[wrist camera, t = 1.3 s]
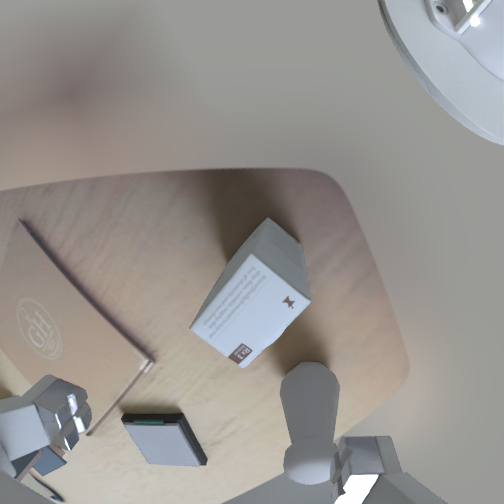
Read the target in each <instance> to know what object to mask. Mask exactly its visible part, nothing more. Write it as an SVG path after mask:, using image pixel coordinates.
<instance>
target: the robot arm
mask: <svg viewBox="0 0 504 504" xmlns="http://www.w3.org/2000/svg"><path fill="white" fill-rule="evenodd" d="M424 3H425V6H426V9H427V13H428V16H429V19H430V21H431V23H432V24H433V25H434V26H435V27H436V28H437V29H438V30H440V31H441V32H443V33H445V34H446V35H448V36H450V37H451V38H453V39H455V40H457V41H458V42H459V43H460V44H461V45H462V46H463V47H464V48H465V49H466V50H467V51H468V52H469V53H470V54H471V55H472V56H473V57H474V58H475V59H476V60H477V61H478V62H479V63H480V64H481V65H482V66H483V67H484V68H486V69H487V70H488V71H489V72H491V73H492V74H493V75H495V76H496V77H498V78H500V79H502V80H503V81H504V0H424ZM437 9H439V10H440V11H441V12H439V11H438V10H437ZM87 398H88V396H87V393H86V390H85V389H83V388H81V387H79V386H76V385H74V384H72V383H69V382H67V381H64V380H62V379H59V378H57V377H55V376H53V375H46V376H44V377H43V378H42V379H41V380H40V381H39V382H38V383H36V384H35V385H34V386H33V387H32V388H31V389H30V390H28V391H27V392H26V393H25V394H24V395H23V396H22V397H21V396H19V395H18V396H14V397H9V398H5V399H1V400H0V504H56V503H54V502H53V501H51V500H49V499H47V498H45V497H43V496H42V495H40V494H39V493H37V492H35V491H34V490H32V489H30V488H29V487H27V486H25V485H24V484H22V483H21V482H19V481H18V480H16V479H15V478H14V477H15V475H16V470H15V468H14V467H13V465H12V463H11V462H10V461H12V460H15V459H17V458H19V457H22V456H24V455H26V454H29V453H31V452H33V451H35V450H38V449H40V448H42V447H44V446H47V445H49V444H50V443H52V444H54V445H57V446H59V447H61V448H63V449H65V450H68V451H71V449H72V448H73V447H74V446H75V444H76V443H77V442H78V440H79V434H80V433H83V432H85V431H86V430H87V429H88V427H89V425H90V422H91V419H92V412H91V408H90V406H89V405H88V404H87V403H86V400H87ZM338 449H339V451H338V452H336V453H335V454H334V456H333V458H332V461H331V467H330V481H331V482H332V483H333V484H334V487H333V489H332V491H331V496H332V504H448V503H447V502H445V501H444V500H442V499H441V498H440V497H438V496H437V495H436V494H434V493H433V492H431V491H430V490H429V489H428V488H426V487H425V486H424V485H422V484H421V483H419V482H418V481H417V480H416V479H414V478H413V477H412V476H411V475H409V474H408V473H402V470H401V467H400V463H399V460H398V457H397V454H396V451H395V448H394V445H393V442H392V439H391V437H390V436H374V437H373V436H365V437H363V436H362V437H342V438H341V439H340V441H339V443H338Z"/></svg>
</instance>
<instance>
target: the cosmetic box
mask: <svg viewBox="0 0 504 504" xmlns="http://www.w3.org/2000/svg"><path fill="white" fill-rule="evenodd" d="M310 302H311V294H310V287H309V281H308V275H307V268H306V262H305V256H304V250H303V246H302V245H301V244H300V243H299V242H297V241H296V240H295V239H294V238H293V237H292V236H291V235H289V234H288V233H287V232H286V231H285V230H283V229H282V228H281V227H280V226H279V225H277V224H276V223H275V222H274V221H272V220H271V219H270V218H266V219H265V220H264V221H263V222H262V223H261V224H260V225H259V226H258V227H257V228H256V229H255V230H254V232H253V233H252V234H251V235H250V236H249V237H248V238H247V240H246V241H245V242H244V243H243V244H242V246H241V247H240V248H239V249H238V251H237V252H236V253H235V255H234V256H233V257H232V258H231V260H230V261H229V262H228V264H227V265H226V267H225V269H224V270H223V272H222V273H221V275H220V277H219V278H218V280H217V282H216V283H215V285H214V286H213V288H212V290H211V291H210V293H209V295H208V296H207V298H206V300H205V301H204V303H203V305H202V307H201V308H200V310H199V312H198V314H197V316H196V318H195V319H194V321H193V323H192V324H191V326H190V327H189V328H190V330H192V331H193V332H194V333H196V334H197V335H198V336H200V337H201V338H202V339H203V340H205V341H206V342H207V343H209V344H210V345H211V346H213V347H214V348H215V349H217V350H218V351H220V352H221V353H222V354H224V355H225V356H227V357H228V358H229V359H231V360H232V361H233V362H235V363H236V364H238V365H239V366H240V367H242V368H244V367H246V366H247V365H248V364H249V363H250V362H251V361H252V360H253V359H254V358H255V357H256V356H257V355H258V354H259V353H260V352H261V351H263V350H264V349H265V348H266V347H267V346H269V345H270V344H272V343H273V342H274V341H275V340H276V339H277V338H279V336H280V335H281V334H282V333H283V332H284V330H285V328H286V327H287V326H288V325H289V324H290V323H291V322H292V321H293V320H294V319H295V318H296V317H297V316H298V315H299V314H300V313H301V312H302V311H303V310H304V309H305V308H306V307H307V306H308V305H309V303H310Z"/></svg>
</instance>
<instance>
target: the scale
mask: <svg viewBox="0 0 504 504" xmlns="http://www.w3.org/2000/svg"><path fill="white" fill-rule="evenodd" d="M121 420H122V422H123V424H124V426H125V428H126V430H127V431H128V433H129V434H130V436H131V438H132V439H133V441H134V442H135V444H136V445H137V447H138V448H139V450H140V451H141V453H142V454H143V456H144V457H145V459H146V460H147V462H148V463H149V464H159V465H174V466H200V465H206V463H207V460H208V459H207V457H206V456H205V454H204V452H203V450H202V448H201V447H200V445H199V443H198V441H197V439H196V437H195V435H194V433H193V432H192V430H191V428H190V426H189V424H188V422H187V420H186V418H185V416H184V414H124V415H123V416H122V418H121Z"/></svg>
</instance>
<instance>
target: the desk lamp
mask: <svg viewBox="0 0 504 504" xmlns="http://www.w3.org/2000/svg"><path fill="white" fill-rule="evenodd" d="M64 454H65V452H63V451H62V450H61V449H60V448H59V447H58V446H57V445H54V444H52V443H50V444H49V445H47V446H44V447H42V448H40V449H38V450H35V451H33V452H31V453H29V454H26V455H24V456H22V457H19V458H17V459H15V460H12V461H10V462H11V463H12V465H13V467H14V468H15V470H16V475H15V477H14V478H15V479H16V480H18V481H19V482H20V481H21V480H22V479H23V478H24V476H25V475H26V474H27V473H28V471H29V470H30V469H31V468H32V467H33V468H34V469H35V470H36V471H37V472H38V473H40V474H41V475H42V476H44V475H46V474H48V473H50V472H52V471H54V470H56V469H58V468H59V467H61V466H63V465H65V464H66V463H67V462H66V461H65V460H64V459H63V458H62V457H63V455H64Z"/></svg>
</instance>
